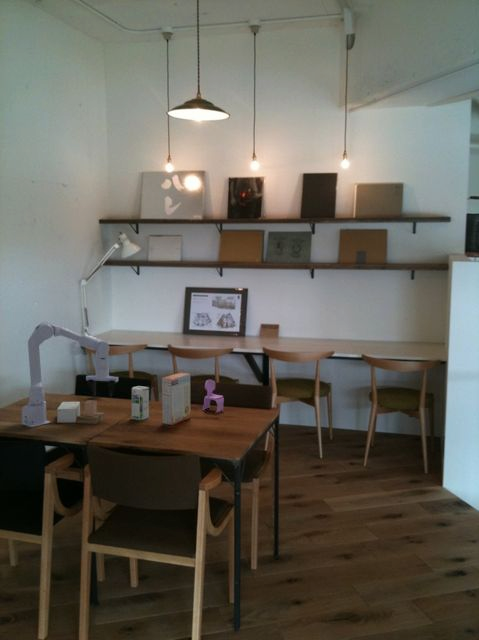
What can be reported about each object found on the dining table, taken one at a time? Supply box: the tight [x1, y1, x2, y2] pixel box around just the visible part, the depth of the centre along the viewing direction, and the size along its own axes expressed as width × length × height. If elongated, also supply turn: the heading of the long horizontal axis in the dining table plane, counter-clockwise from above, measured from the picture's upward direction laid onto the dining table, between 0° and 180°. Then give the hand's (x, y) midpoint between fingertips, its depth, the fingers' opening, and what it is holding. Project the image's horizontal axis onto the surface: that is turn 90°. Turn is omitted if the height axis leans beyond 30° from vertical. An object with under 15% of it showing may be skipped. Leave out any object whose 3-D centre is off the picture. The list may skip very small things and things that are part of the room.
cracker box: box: [161, 372, 191, 426], centre depth 253 cm, size 14×6×21 cm, turn 149°
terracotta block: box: [83, 399, 98, 416], centre depth 252 cm, size 4×4×6 cm
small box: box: [56, 401, 81, 424], centre depth 254 cm, size 8×6×13 cm
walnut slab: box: [76, 411, 105, 425], centre depth 252 cm, size 9×9×3 cm
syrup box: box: [131, 385, 150, 421], centre depth 256 cm, size 6×6×14 cm
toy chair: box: [201, 379, 225, 413], centre depth 271 cm, size 8×9×15 cm
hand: (102, 396), depth 255 cm, fingers open, 7 cm apart
